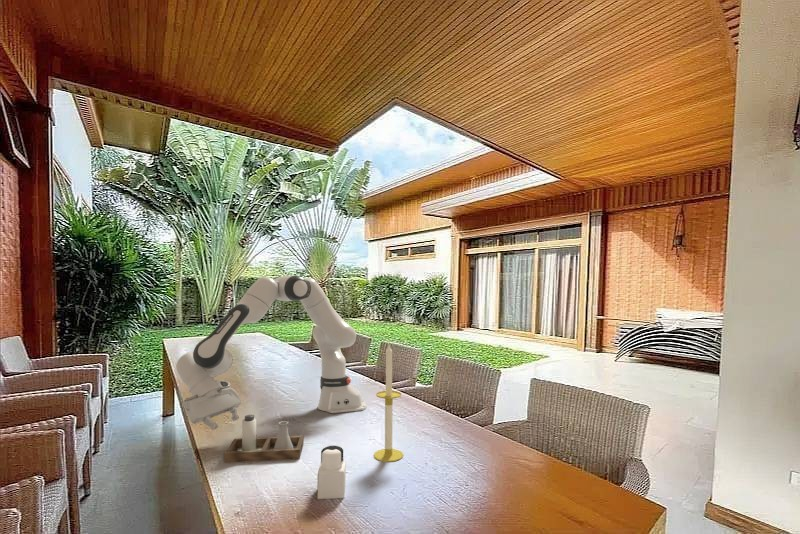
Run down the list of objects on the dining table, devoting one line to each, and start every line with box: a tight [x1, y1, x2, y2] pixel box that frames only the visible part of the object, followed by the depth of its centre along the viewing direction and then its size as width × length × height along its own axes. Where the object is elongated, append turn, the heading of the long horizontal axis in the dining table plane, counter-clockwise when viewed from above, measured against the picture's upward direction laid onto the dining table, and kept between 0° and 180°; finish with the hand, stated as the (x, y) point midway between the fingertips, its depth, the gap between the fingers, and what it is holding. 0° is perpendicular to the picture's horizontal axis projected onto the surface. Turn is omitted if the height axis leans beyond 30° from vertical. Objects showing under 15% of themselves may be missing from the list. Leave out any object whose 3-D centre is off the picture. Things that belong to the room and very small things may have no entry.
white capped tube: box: [241, 414, 257, 451], centre depth 138 cm, size 4×4×12 cm
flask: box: [272, 420, 295, 450], centre depth 139 cm, size 7×7×10 cm
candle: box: [373, 344, 404, 463], centre depth 138 cm, size 10×10×38 cm
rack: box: [223, 435, 305, 464], centre depth 138 cm, size 24×12×3 cm, turn 97°
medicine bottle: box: [316, 445, 347, 500], centre depth 113 cm, size 7×7×12 cm
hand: (226, 423), depth 142 cm, fingers open, 8 cm apart
